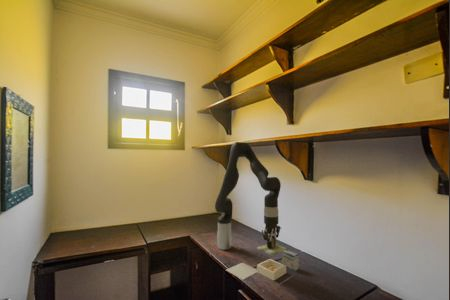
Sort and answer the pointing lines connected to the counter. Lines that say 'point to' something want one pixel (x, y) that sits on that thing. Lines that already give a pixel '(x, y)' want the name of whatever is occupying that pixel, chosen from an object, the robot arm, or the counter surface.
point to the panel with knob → (242, 270)
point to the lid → (271, 250)
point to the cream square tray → (273, 275)
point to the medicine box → (290, 260)
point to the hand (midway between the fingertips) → (271, 246)
